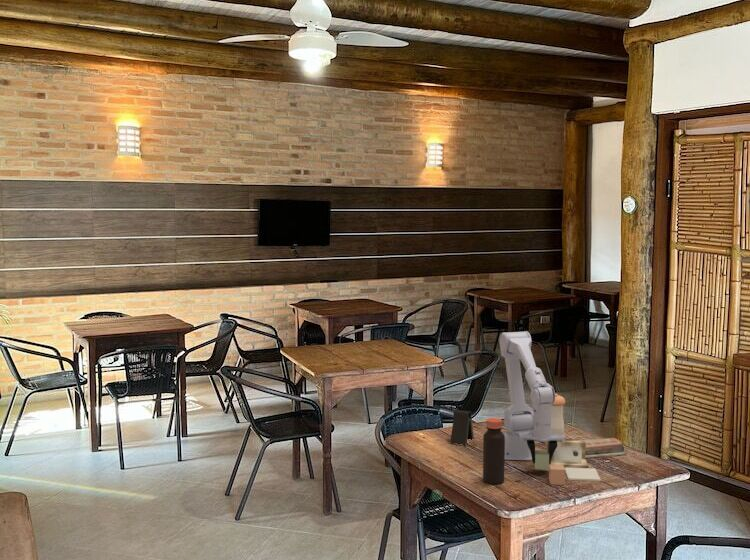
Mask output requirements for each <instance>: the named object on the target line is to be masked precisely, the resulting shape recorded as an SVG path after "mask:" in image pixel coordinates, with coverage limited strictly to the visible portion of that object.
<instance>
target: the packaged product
mask: <svg viewBox="0 0 750 560" xmlns="http://www.w3.org/2000/svg"><path fill="white" fill-rule="evenodd" d="M577 441H585V442H586V454H585V458H587V459H594V458H593V457H599V458H602V457H601V456H611V457H614V456H613V455H621V456H627V455H628V453H627V452H626V451H624V450H625V446H624V444H623V442H622V441H621V440H619V439H618V438H615V437H607V438H593V439H579V440H578V439H577ZM626 454H627V455H626Z"/></svg>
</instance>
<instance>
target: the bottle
mask: <svg viewBox="0 0 750 560" xmlns="http://www.w3.org/2000/svg"><path fill="white" fill-rule="evenodd" d="M485 425H486V429H487V430H486V432H484V434H483V435H482V437H483V439H482V440H483V441H482V444H483V445H482V449H483V452H482V454H483V456H482V481H483V482H485V483H486V484H489V485H500V484H503V483H504V482H505V465H506V463H505V461H506V460H505V436H504V432H502V429H503V420H502V419H501V418H497V417H496V418H495V417H491V418H487V419H486V424H485Z"/></svg>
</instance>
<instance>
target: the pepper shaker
mask: <svg viewBox="0 0 750 560" xmlns="http://www.w3.org/2000/svg"><path fill="white" fill-rule="evenodd" d="M551 404H552V405H551V434H555V435H564V437H565V438H566V435H565V422H564V420H565V419H564V406H565V404H566V399H565V398H564V397H563V396H562V395H559V394H558V393H555V401H554V403H551ZM544 445H545V446H546V442H544Z"/></svg>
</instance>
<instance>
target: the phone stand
mask: <svg viewBox="0 0 750 560" xmlns="http://www.w3.org/2000/svg"><path fill="white" fill-rule="evenodd" d="M473 428H474V427H473V422H472V410H464V409H457V408H456V409H454V410H453V419H452V428H451V435H450V442H451V443H457V444H463V445H466V444H467V439H471V440H472V439H474V440H475V436H474V429H473ZM450 442H449V443H450ZM466 446H467V445H466Z"/></svg>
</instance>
